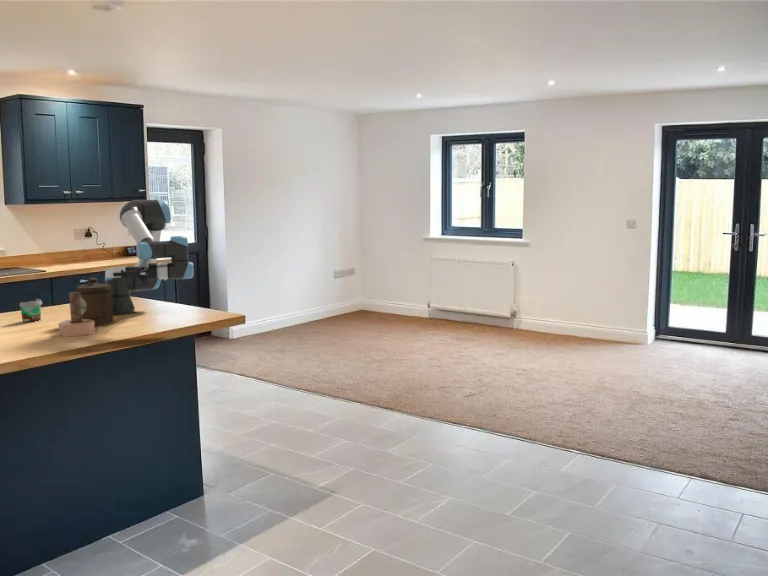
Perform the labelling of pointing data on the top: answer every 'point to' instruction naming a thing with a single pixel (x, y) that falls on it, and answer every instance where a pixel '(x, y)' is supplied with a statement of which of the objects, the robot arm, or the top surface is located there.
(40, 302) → the food container
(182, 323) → the top surface
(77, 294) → the walnut dowel
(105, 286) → the wooden container
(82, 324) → the terracotta bead
